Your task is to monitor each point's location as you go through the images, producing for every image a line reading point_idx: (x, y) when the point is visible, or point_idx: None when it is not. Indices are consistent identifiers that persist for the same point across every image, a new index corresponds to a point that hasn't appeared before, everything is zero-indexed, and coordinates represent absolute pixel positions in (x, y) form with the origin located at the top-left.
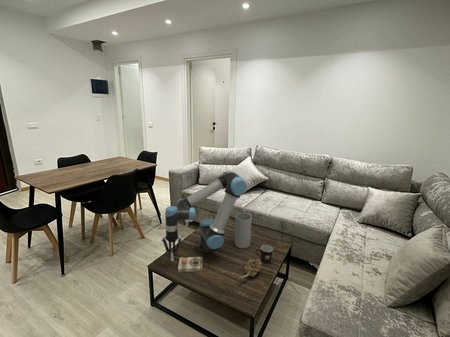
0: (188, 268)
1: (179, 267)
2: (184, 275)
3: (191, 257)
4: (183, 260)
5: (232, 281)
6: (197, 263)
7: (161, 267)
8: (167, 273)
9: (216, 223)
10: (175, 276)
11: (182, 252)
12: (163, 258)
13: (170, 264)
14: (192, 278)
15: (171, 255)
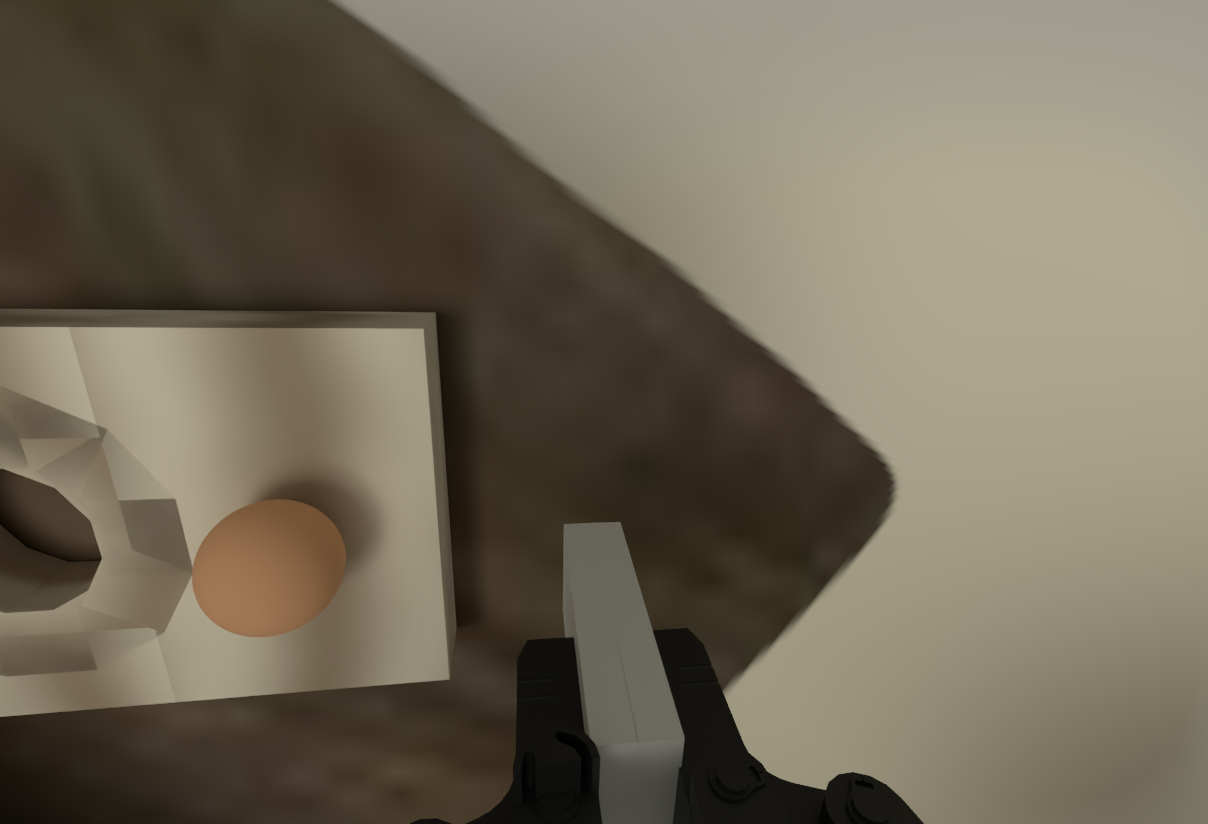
0: (137, 330)
1: (395, 377)
2: (260, 185)
3: (176, 692)
4: (279, 548)
5: None
6: (40, 556)
7: (774, 453)
8: (654, 282)
9: None
10: (472, 170)
11: (442, 804)
12: (748, 661)
13: None
14: (3, 44)
15: (637, 648)
